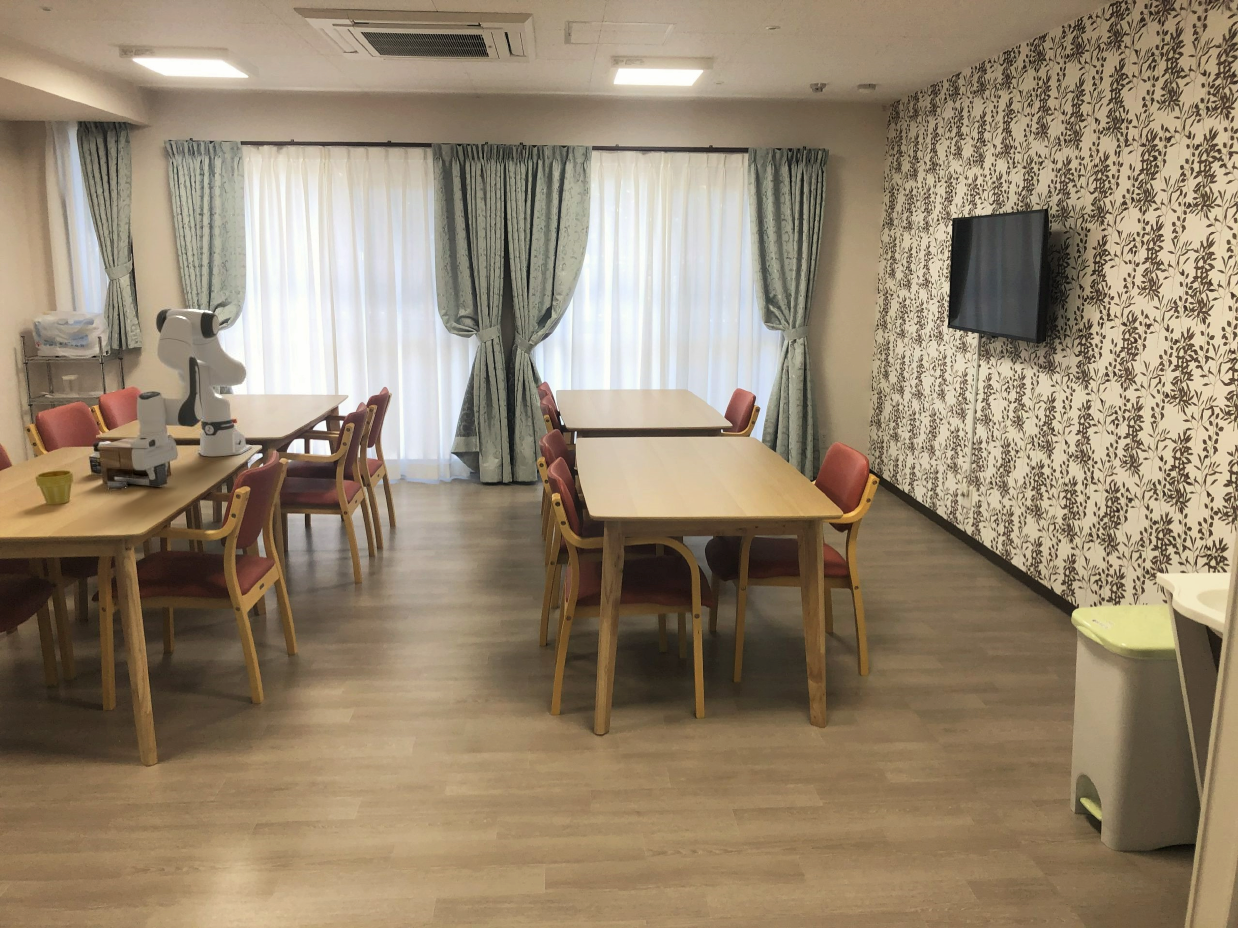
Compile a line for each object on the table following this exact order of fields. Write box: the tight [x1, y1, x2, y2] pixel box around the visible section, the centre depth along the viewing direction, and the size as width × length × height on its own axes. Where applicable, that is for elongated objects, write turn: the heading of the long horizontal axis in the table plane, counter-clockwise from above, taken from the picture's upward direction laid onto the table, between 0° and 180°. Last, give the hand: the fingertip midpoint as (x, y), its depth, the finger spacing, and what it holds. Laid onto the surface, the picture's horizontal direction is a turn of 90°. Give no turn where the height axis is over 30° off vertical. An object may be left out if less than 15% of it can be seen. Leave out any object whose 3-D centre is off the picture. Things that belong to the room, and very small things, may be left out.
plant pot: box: [35, 469, 74, 506], centre depth 300 cm, size 10×10×10 cm
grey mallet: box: [114, 464, 168, 487], centre depth 323 cm, size 4×20×7 cm, turn 72°
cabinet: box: [97, 437, 172, 484], centre depth 333 cm, size 17×16×14 cm
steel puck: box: [106, 479, 128, 490], centre depth 321 cm, size 6×6×2 cm
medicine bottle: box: [88, 440, 111, 476], centre depth 342 cm, size 7×7×12 cm
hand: (158, 477), depth 321 cm, fingers closed on grey mallet, 4 cm apart
